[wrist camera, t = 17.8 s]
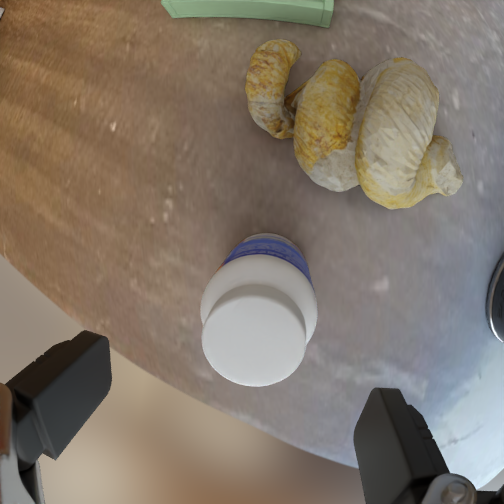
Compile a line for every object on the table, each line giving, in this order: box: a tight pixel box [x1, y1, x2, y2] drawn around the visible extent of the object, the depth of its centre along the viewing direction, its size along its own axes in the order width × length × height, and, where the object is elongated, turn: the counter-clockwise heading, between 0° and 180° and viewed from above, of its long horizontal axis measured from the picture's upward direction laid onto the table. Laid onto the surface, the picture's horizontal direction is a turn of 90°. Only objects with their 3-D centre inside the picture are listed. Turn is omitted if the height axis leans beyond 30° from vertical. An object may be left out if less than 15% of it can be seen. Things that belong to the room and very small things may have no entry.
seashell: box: [245, 39, 463, 209], centre depth 16 cm, size 10×6×15 cm
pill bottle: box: [201, 233, 318, 386], centre depth 16 cm, size 5×5×10 cm
